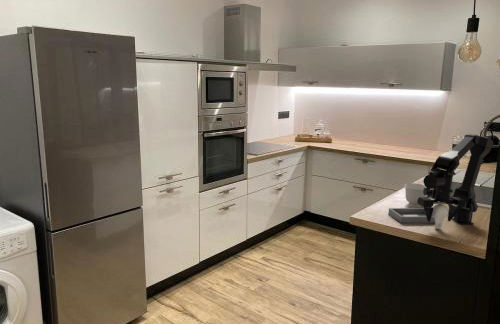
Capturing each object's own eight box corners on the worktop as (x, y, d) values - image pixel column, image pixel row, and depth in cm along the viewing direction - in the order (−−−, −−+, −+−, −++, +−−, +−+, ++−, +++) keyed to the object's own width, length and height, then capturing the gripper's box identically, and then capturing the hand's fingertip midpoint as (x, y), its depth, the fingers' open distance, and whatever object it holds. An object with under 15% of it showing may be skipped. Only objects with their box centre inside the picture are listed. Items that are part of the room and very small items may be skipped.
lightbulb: (427, 228, 166) (430, 204, 164) (432, 225, 171) (436, 201, 168) (442, 233, 162) (446, 207, 160) (448, 229, 166) (451, 204, 164)
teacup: (436, 210, 191) (438, 190, 189) (404, 207, 194) (406, 188, 192) (430, 203, 203) (432, 184, 201) (400, 200, 206) (402, 182, 204)
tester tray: (424, 214, 185) (425, 208, 185) (439, 223, 174) (439, 216, 173) (388, 214, 183) (388, 208, 182) (400, 223, 171) (401, 217, 171)
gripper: (452, 181, 171) (447, 214, 174) (412, 180, 169) (408, 215, 172) (469, 187, 160) (463, 223, 164) (426, 187, 158) (422, 224, 161)
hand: (438, 221), depth 165 cm, fingers open, 9 cm apart
